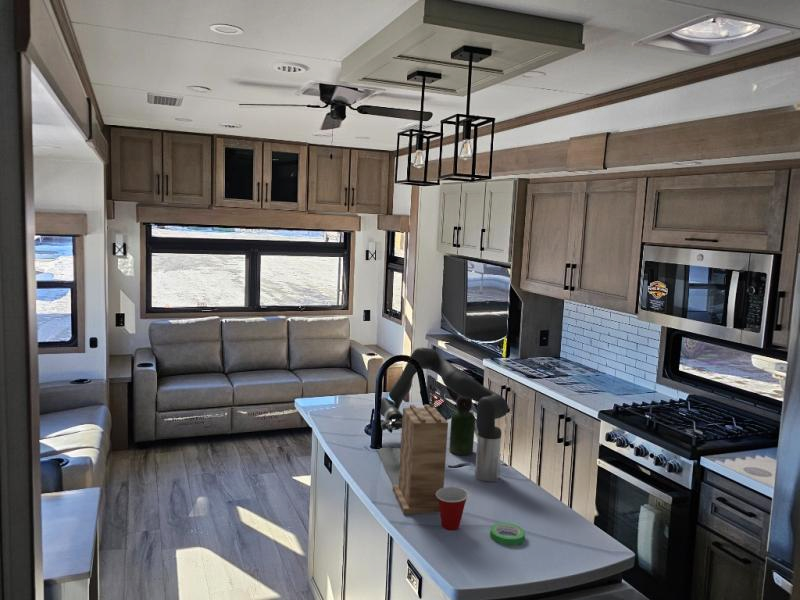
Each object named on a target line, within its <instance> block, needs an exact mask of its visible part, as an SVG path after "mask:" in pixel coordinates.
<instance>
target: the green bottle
mask: <svg viewBox="0 0 800 600" xmlns="http://www.w3.org/2000/svg"><path fill="white" fill-rule="evenodd" d="M455 407H456V411H454V412H453V413H452V414H451V417H450V430H449V447H448V450H449V452H450V453H452V454H453V453H454V455H457V456H467V455H471V454H473V452H474V442H475V426H476V417H475V414H474V413H472V412H471V411H472V408H473V400H471V399H468V398H465V397H462V396H459V395H458V396H457V398H456V406H455Z"/></svg>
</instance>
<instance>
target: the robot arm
mask: <svg viewBox="0 0 800 600" xmlns="http://www.w3.org/2000/svg"><path fill="white" fill-rule="evenodd" d="M410 358H412V359H414V360H416V361H417V362H418V363H419V365H420V367H421V369H420V370H422V369H423V370H430V371H431V372H434V373H435V374H437V375H438V376H440V378H441V379H442V380H441V381H442V382H443V384H444V386H446V388H448V390H450V391H452V392H453V393H454V394H456V395H457V396H458V397H459V396H462V397H465V398H468V399H471V400H472V401H475V402H477V404H476V405H477V406H476V428H477V441H476V455H475V468H474V469H475V470H474V477H475V478H476V479H477V480H479V481H482V482H497V481H498V479H499V477H500V468H501V467H500V466H501V455H502V454H501V453H500V452H501V442H502V429H501V428H500V427H498V426H496V420H497V419H501V418H503V417H505V416H506V415H507V414H508V411H509V405H508V401H507V400H506V399H505V398H504V397H503V396H502V395H500V394H499V393H496V391H495V392H494V391H493V390H491V389H490V388H487V387H486V386H485V385H483V384H482V383H480V382H478V381H477V380H475V379H474V378H473V377H471V376H470V375H469V374H467V373H466V372H464V371H462V370H461V369H460V368H458V367H457V366H455V365H454V364H452V363H451V362H449V361H447V360H446V359H445V358H444V357H443V356H442V355H441V354H440V353H439V352H438V351H436V350H435V349H433V348H429V347H417V348H416V349H414V350H413V351H412V354H411V355H410V356H409V359H410ZM409 359H408V361H410V360H409ZM412 359H411V360H412ZM408 361H407V363H406V365H405V367H404V369H403V371H402V372H401V375H400V376H399V378H398V380H397V381H396V382H395V383H394V385H393V387H392V388H391V389H390V390H389V392H388V397H389V398H390V399H389V398H386V397H385V396H384V397H380V398H381V409H380V413H379V415H381V416H382V417H383V418H384V419H381V421H380V423H381V424H380V426H381V429H382V430H383V431H388V432H389V433H390V434H392V433H393V430H395V431H397V430H400V429H401V430H402V418H403V413H402V412H401V411H400V406H401V405H402V402H403V400H404V399H405V397H406V396H407V395H408V394H409V392H410V391H411V389H412V384H413V378H414V376H415V375H416V374H417V372H418V371H417V370H416V368H415V367H414V366H413V365H412V364H411V363H410V362H408Z"/></svg>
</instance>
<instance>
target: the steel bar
mask: <svg viewBox="0 0 800 600" xmlns="http://www.w3.org/2000/svg"><path fill="white" fill-rule="evenodd" d="M391 448H392V456H393V458H394V460H395V462H396V464H397V465H398V467H399V469H400V453H401V450H400V448H401V447H391Z"/></svg>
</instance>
